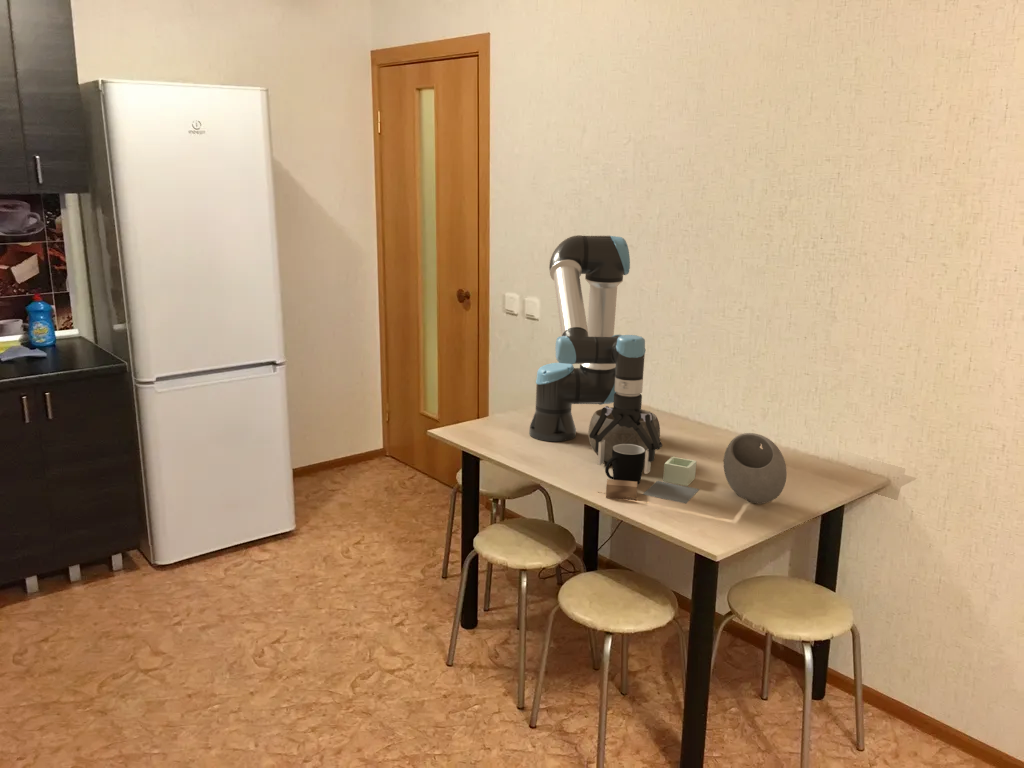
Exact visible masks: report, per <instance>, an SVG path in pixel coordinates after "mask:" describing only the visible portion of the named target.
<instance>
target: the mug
mask: <svg viewBox="0 0 1024 768" xmlns="http://www.w3.org/2000/svg"><path fill="white" fill-rule="evenodd" d="M644 459H645V449H644V448H643V447H641V446H638V445H633V444H619V445H615V446H614V447H613V449H612V458H611V459H610V460H609V461H608V462H606V464H605V469H604V470H605V471H604V472H605V475H606V477H607V478H608V479H611V480H623V481H635V482H637V485H638V484H640V482H641V479H642V475H643V472H644V467H645V460H644ZM611 464H612V467H611V468H612V475H610V472H609V471H610V466H611Z"/></svg>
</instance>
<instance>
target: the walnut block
mask: <svg viewBox="0 0 1024 768" xmlns="http://www.w3.org/2000/svg"><path fill="white" fill-rule="evenodd" d="M605 487H606V488H605V489H606V491H605V499H615V500H626V501H635V502H636V501H637V494H638V493H637V492H638V484H637V482H635V481H623V480H613V479H610V478H607V480H606V486H605Z"/></svg>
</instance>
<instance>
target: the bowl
mask: <svg viewBox="0 0 1024 768" xmlns="http://www.w3.org/2000/svg"><path fill="white" fill-rule="evenodd" d="M610 408H611V409H613V406H612V407H610ZM601 412H602V408H600V409H597V410H595V411H594V413H593V414H592V416H591V419H590V421H589V426H588V433H587V434H588V442H589V444H590V447H591V449H592V450H593V452H594V453H595V454H596V455H597V456H598V452H596V451H595V447H596V441H595V439H593V438H590V437H589V435H590V433H591V432H592V430H593V428H594V426H595V425H596V423H597V421H598V419H599V418H600V416H601ZM641 412H642V414H648V413H652V416H653V423H654V425H655V428H656V430H657V433H658V436H659V438H660V436H661V427H660V426H661V425H660V421H659V419H658V416H657V415H656V414H655V413H654V412H651V411H649V410H646V409H642V408H641ZM613 420H614V417H613V415H612V413H610V415H608V416H607V418H606V420H605V421H604V423H603V425H602V427H601V428H600V430H599V432H598V433H597V434H598V435H599V434H600V433H601V432H602V431H603V430H604V429H605V428H606V427H607V426H608V425H609V424H610V423H611V422H612V421H613ZM639 421H640V422H641V424H642V426H643V428H644V429H645V431H646V432H647V434H648V435H649V437H650V438H651V436H650V434H649V431H648V429H647V426H646V422H644V420H643V418H641V419H640V420H639ZM660 439H661V438H660ZM602 440H605V450H604V462H606V463H607V462H608V461H609V460H610V459H611V458H612V449H613V447H614V446H615V445H619V444H633V445H638V446H641V447H643V448H644V449H645V453H646V450H647V449H648V448H647V446H646V445H645V443H644V442H643V440H642V439H641V437H640V436H639V435H638V433H637V432H636V431H635V430H634V429H633V427H631V428H628V427H625V426H623V427H622V426H619V425H618V424H617V425H616V426H615V427H614V428H613V429H612V430H611V431H610V432H608V433H607V434H606V435H605V436H604V437H603V439H602ZM651 440H652V439H651ZM644 461H645V459H644Z"/></svg>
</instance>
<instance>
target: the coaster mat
mask: <svg viewBox="0 0 1024 768" xmlns="http://www.w3.org/2000/svg"><path fill="white" fill-rule="evenodd" d="M699 490H700V489H699V488H696V487H690V486H684V485H679V484H674V483H669V482H664V481H663V480H661V481H660V480H656V481H655V482H654V483H653V484H652V485H651V486H650V487H649V488H648V489H646V491H644V492H643V493H642V495H644V496H648V497H652V498H653V497H654V498H656V499H657V498H658V499H663V500H667V501H672V502H677V503H680V504H688V502H689V501H691V499H692V498H694V496H695V495H696V493H698V492H699Z"/></svg>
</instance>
